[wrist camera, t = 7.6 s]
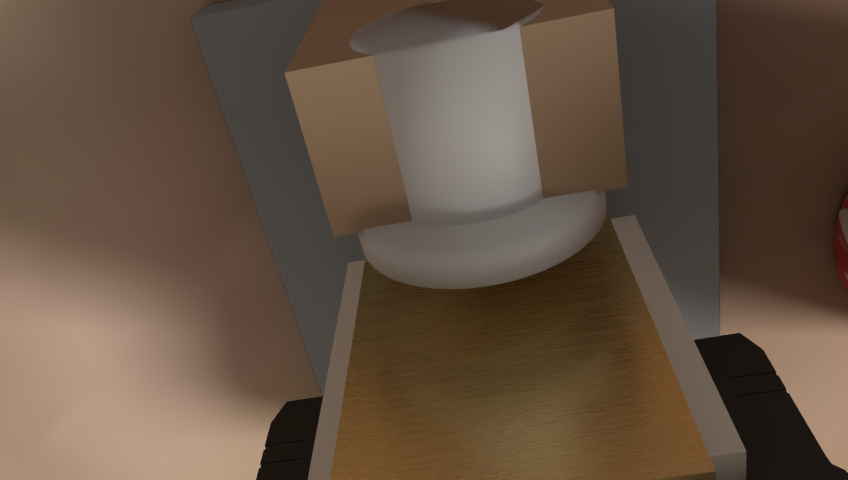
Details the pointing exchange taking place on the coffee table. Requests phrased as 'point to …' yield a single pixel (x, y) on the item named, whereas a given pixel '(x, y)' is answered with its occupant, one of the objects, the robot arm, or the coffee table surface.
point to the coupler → (516, 381)
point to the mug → (842, 243)
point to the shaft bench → (648, 138)
